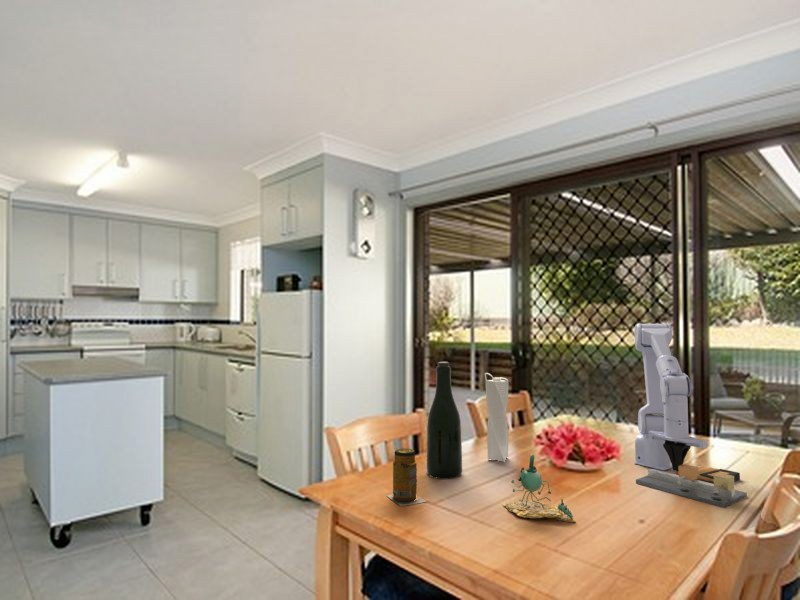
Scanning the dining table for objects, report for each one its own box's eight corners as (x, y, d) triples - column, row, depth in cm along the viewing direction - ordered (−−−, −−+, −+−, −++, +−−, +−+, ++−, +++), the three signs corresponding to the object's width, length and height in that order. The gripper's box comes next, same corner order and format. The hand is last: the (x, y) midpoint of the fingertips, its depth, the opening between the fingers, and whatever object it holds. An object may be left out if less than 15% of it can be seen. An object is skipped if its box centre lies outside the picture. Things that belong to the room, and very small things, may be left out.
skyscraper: (482, 460, 158) (481, 373, 160) (487, 455, 165) (486, 371, 166) (507, 463, 155) (506, 374, 156) (511, 457, 162) (510, 372, 163)
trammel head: (672, 483, 129) (672, 468, 130) (685, 479, 133) (685, 463, 133) (685, 487, 127) (685, 471, 127) (698, 482, 131) (697, 466, 131)
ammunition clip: (717, 478, 134) (675, 468, 144) (717, 485, 133) (675, 474, 144) (739, 472, 138) (697, 463, 149) (740, 479, 138) (697, 469, 149)
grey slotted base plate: (635, 483, 136) (635, 461, 136) (660, 474, 143) (659, 454, 144) (724, 507, 118) (723, 483, 118) (746, 496, 125) (746, 473, 126)
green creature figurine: (561, 533, 105) (552, 462, 106) (492, 518, 117) (485, 455, 119) (582, 520, 111) (574, 453, 113) (515, 507, 124) (508, 447, 126)
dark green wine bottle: (450, 466, 152) (449, 359, 153) (469, 476, 143) (468, 362, 144) (420, 471, 147) (419, 361, 149) (437, 481, 138) (436, 363, 139)
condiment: (411, 491, 130) (410, 446, 131) (426, 502, 123) (426, 453, 123) (385, 496, 127) (385, 449, 128) (400, 507, 119) (400, 457, 120)
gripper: (642, 417, 138) (643, 466, 137) (697, 426, 126) (698, 479, 125) (655, 414, 142) (656, 462, 141) (710, 422, 130) (711, 474, 129)
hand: (677, 470), depth 133 cm, fingers closed
